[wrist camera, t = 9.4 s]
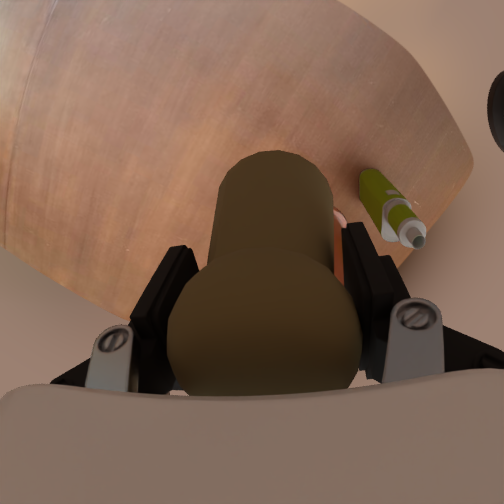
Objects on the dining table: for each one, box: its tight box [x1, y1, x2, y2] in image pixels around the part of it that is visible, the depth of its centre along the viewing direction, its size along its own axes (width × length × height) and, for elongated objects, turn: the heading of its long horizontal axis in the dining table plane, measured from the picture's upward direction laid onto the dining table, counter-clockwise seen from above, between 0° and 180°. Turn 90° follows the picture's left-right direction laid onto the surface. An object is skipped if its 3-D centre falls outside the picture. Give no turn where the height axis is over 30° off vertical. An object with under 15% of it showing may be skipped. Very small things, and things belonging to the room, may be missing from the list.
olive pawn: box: [167, 150, 363, 396], centre depth 11 cm, size 6×6×11 cm
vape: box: [359, 169, 426, 249], centre depth 38 cm, size 4×6×20 cm, turn 7°
